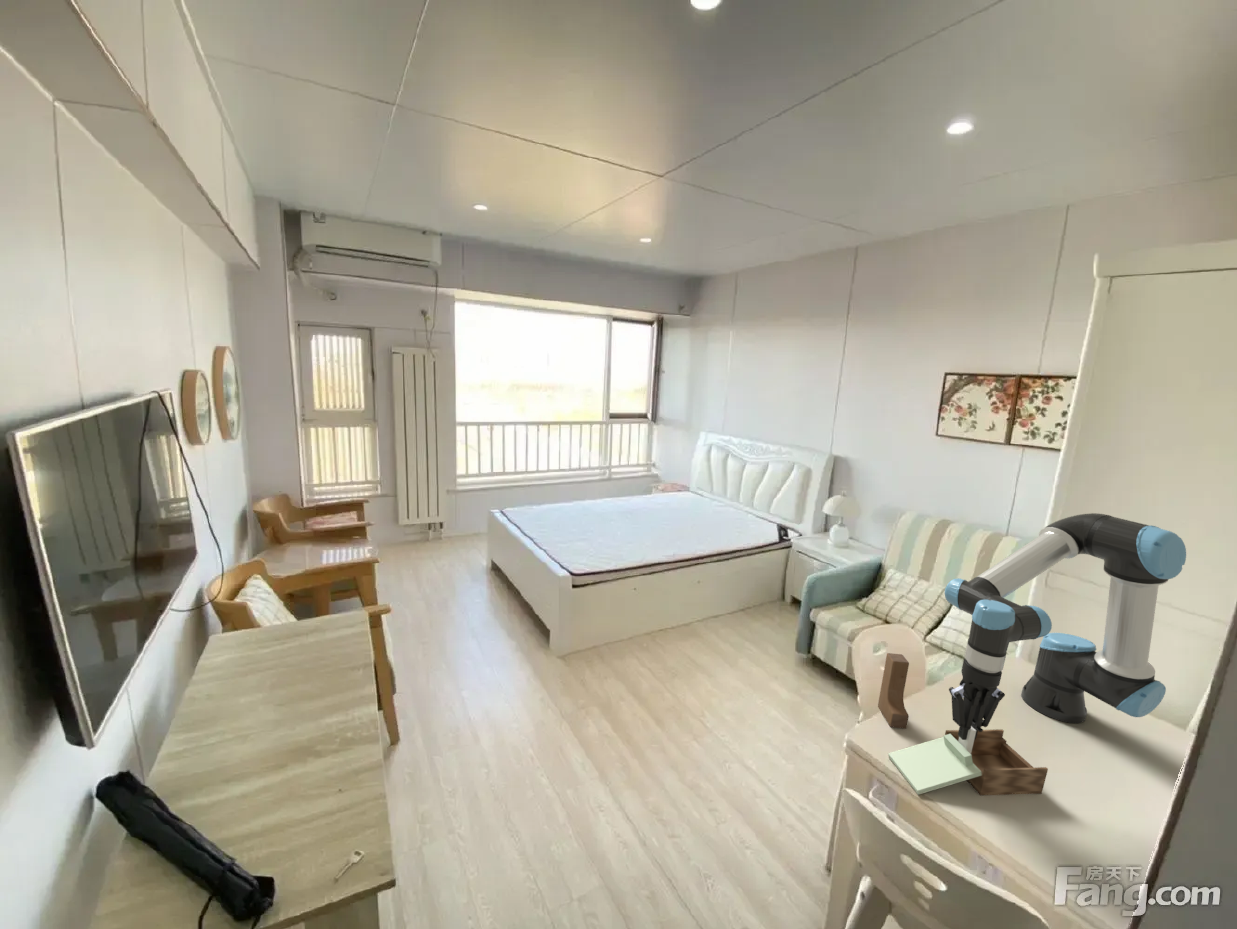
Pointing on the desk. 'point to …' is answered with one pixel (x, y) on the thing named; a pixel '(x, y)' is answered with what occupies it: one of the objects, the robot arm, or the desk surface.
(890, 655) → the wooden block
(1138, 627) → the robot arm
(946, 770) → the lid
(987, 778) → the box
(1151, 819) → the desk surface
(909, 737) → the desk surface
